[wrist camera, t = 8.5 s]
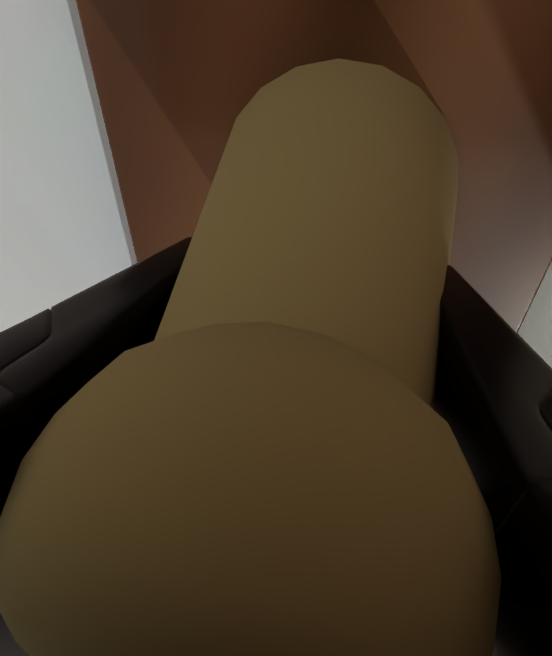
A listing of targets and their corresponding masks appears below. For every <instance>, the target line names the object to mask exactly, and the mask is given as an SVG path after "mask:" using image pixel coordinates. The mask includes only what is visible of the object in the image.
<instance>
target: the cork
mask: <svg viewBox="0 0 552 656" xmlns="http://www.w3.org/2000/svg"><path fill="white" fill-rule="evenodd" d="M458 165H459V156H458V153H457V150H456V147H455V144H454V141H453V138H452V135H451V132H450V129H449V126H448V123H447V120H446V118H445V117H444V116H443V115H442V114H441V112H440V111H439V110H438V109H437V107H436V106H435V105H434V104H433V103H432V101H431V100H430V99H429V98H428V96H427V95H426V94H425V93H424V92H423V90H422V89H421V88H420V87H419V86H417V85H415V84H414V83H412V82H410V81H408V80H407V79H405V78H403V77H401V76H400V75H398V74H396V73H394V72H393V71H391V70H389V69H387V68H386V67H384V66H382V65H376V64H370V63H364V62H358V61H352V60H346V59H340V58H338V59H333V60H328V61H323V62H317V63H312V64H307V65H302V66H297V67H295V68H293V69H291V70H290V71H288V72H286V73H285V74H283V75H281V76H280V77H278V78H276V79H275V80H273V81H271V82H270V83H268V84H266V85H265V86H263V87H261V88H260V89H259V91H258V92H257V93H256V94H255V96H254V97H253V98H252V99H251V100H250V102H249V103H248V104H247V105H246V106H245V108H244V109H243V110H242V111H241V113H240V114H239V115H238V116H237V117H236V120H235V123H234V125H233V128H232V131H231V133H230V136H229V139H228V142H227V144H226V147H225V150H224V152H223V155H222V158H221V161H220V163H219V166H218V169H217V171H216V174H215V177H214V180H213V182H212V185H211V188H210V190H209V193H208V196H207V199H206V201H205V204H204V207H203V209H202V212H201V215H200V218H199V220H198V223H197V226H196V228H195V231H194V234H193V237H192V239H191V242H190V245H189V247H188V250H187V253H186V256H185V258H184V261H183V264H182V266H181V269H180V272H179V275H178V277H177V280H176V283H175V285H174V288H173V291H172V294H171V296H170V299H169V302H168V304H167V307H166V310H165V313H164V315H163V318H162V321H161V323H160V326H159V329H158V332H157V334H156V337H155V340H154V341H152V342H149V343H147V344H144V345H141V346H138V347H135V348H132V349H129V350H126V351H124V352H123V353H122V354H121V355H119V356H118V357H117V358H116V359H115V360H114V361H112V362H111V363H110V364H109V365H108V366H107V367H105V368H104V369H103V370H102V371H101V372H100V373H98V374H97V375H96V376H95V377H94V378H92V379H91V380H90V381H89V382H88V383H87V384H86V385H84V386H83V387H82V388H81V389H80V390H79V391H78V392H77V393H76V394H75V395H74V396H73V397H72V398H71V399H70V400H69V401H68V402H67V403H66V404H65V405H64V406H63V407H62V408H60V409H59V410H58V411H57V412H56V413H55V414H54V416H53V417H52V419H51V420H50V421H49V423H48V424H47V426H46V427H45V428H44V430H43V431H42V433H41V434H40V435H39V437H38V438H37V440H36V441H35V442H34V444H33V445H32V447H31V448H30V449H29V451H28V452H27V454H26V455H25V456H24V458H23V459H22V461H21V463H20V466H19V469H18V471H17V474H16V477H15V479H14V482H13V485H12V487H11V490H10V493H9V495H8V498H7V501H6V503H5V506H4V509H3V511H2V514H1V517H0V613H1V615H2V617H3V619H4V621H5V623H6V625H7V626H8V628H9V630H10V632H11V634H12V636H13V638H14V639H15V641H16V643H17V644H18V645H19V646H20V647H21V648H22V649H23V650H24V651H25V652H26V653H27V654H28V655H29V656H492V654H493V650H494V645H495V635H496V626H497V617H498V607H499V598H500V589H501V579H502V578H501V571H500V565H499V559H498V553H497V547H496V541H495V535H494V529H493V523H492V517H491V514H490V512H489V510H488V507H487V505H486V503H485V500H484V498H483V496H482V494H481V491H480V489H479V487H478V484H477V482H476V480H475V477H474V475H473V473H472V470H471V468H470V466H469V464H468V462H467V460H466V458H465V456H464V454H463V452H462V450H461V448H460V446H459V444H458V442H457V440H456V438H455V436H454V434H453V432H452V430H451V428H450V426H449V424H448V422H447V421H445V420H444V419H443V418H442V417H441V416H440V415H439V414H438V413H436V412H435V411H434V410H433V406H434V397H435V388H436V379H437V365H438V347H439V329H440V299H441V296H442V293H443V289H444V283H445V276H446V270H447V265H450V256H451V247H452V238H453V229H454V221H455V212H456V203H457V193H458Z"/></svg>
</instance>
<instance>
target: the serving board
mask: <svg viewBox="0 0 552 656" xmlns="http://www.w3.org/2000/svg"><path fill="white" fill-rule="evenodd" d="M76 2H77V7H78V11H79V15H80V19H81V24H82V28H83V32H84V36H85V41H86V45H87V49H88V53H89V58H90V62H91V66H92V71H93V75H94V79H95V83H96V88H97V92H98V96H99V100H100V105H101V109H102V113H103V118H104V122H105V126H106V130H107V135H108V139H109V143H110V147H111V152H112V156H113V160H114V164H115V169H116V173H117V177H118V182H119V186H120V190H121V194H122V199H123V203H124V207H125V211H126V216H127V220H128V224H129V229H130V233H131V237H132V241H133V246H134V250H135V254H136V258H137V263H138V262H140V261H142V260H144V259H146V258H148V257H150V256H152V255H154V254H156V253H158V252H160V251H162V250H164V249H166V248H168V247H170V246H172V245H174V244H175V243H177V242H179V241H181V240H183V239H185V238H187V237H193V234H194V231H195V228H196V226H197V223H198V220H199V218H200V215H201V212H202V209H203V207H204V204H205V201H206V199H207V196H208V193H209V190H210V188H211V185H212V182H213V180H214V177H215V174H216V171H217V169H218V166H219V163H220V161H221V158H222V155H223V152H224V150H225V147H226V144H227V142H228V139H229V136H230V133H231V131H232V128H233V125H234V123H235V120H236V117H237V116H238V115H239V114H240V113H241V111H242V110H243V109H244V108H245V106H246V105H247V104H248V103H249V102H250V100H251V99H252V98H253V97H254V96H255V94H256V93H257V92H258V91H259V89H260V88H261V87H263V86H265V85H266V84H268V83H270V82H271V81H273V80H275V79H276V78H278V77H280V76H281V75H283V74H285V73H286V72H288V71H290V70H291V69H293V68H295V67H297V66H302V65H307V64H312V63H317V62H323V61H328V60H333V59H338V58H340V59H346V60H352V61H358V62H364V63H370V64H376V65H382V66H384V67H386V68H387V69H389V70H391V71H393V72H394V73H396V74H398V75H400V76H401V77H403V78H405V79H407V80H408V81H410V82H412V83H414V84H415V85H417V86H419V87H420V88H421V89H422V90H423V92H424V93H425V94H426V95H427V96H428V98H429V99H430V100H431V101H432V103H433V104H434V105H435V106H436V107H437V109H438V110H439V111H440V112H441V114H442V115H443V116H444V117H445V118H446V120H447V123H448V126H449V129H450V132H451V135H452V138H453V141H454V144H455V147H456V150H457V153H458V156H459V165H458V193H457V203H456V212H455V221H454V229H453V238H452V247H451V256H450V266H452V267H453V268H454V269H455V270H456V271H457V272H458V273H459V274H460V275H461V276H462V277H463V278H464V279H465V280H466V281H467V282H468V283H469V284H470V285H471V286H472V287H473V288H474V289H475V290H476V291H477V292H478V293H479V294H480V295H481V296H482V297H483V299H484V300H485V301H486V302H487V303H488V304H489V305H490V306H491V307H492V308H493V309H494V310H495V311H496V312H497V313H498V314H499V315H500V316H501V317H502V318H503V319H504V320H505V321H506V322H507V323H508V324H509V325H510V326H511V327H512V328H513V329H514V330H515V331H516V332H517V333H518V331H519V328H520V326H521V324H522V322H523V320H524V318H525V316H526V314H527V312H528V309H529V307H530V305H531V303H532V301H533V299H534V297H535V295H536V293H537V291H538V288H539V286H540V284H541V282H542V280H543V278H544V276H545V274H546V272H547V269H548V267H549V265H550V263H551V261H552V0H76Z"/></svg>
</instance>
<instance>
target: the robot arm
mask: <svg viewBox="0 0 552 656" xmlns="http://www.w3.org/2000/svg"><path fill="white" fill-rule="evenodd" d="M191 239H192V237H187V238H185V239H183V240H181V241H179V242H177V243H175V244H174V245H172V246H170V247H168V248H166V249H164V250H162V251H160V252H158V253H156V254H154V255H152V256H150V257H148V258H146V259H144V260H142V261H140V262H138V263H136V264H135V265H133V266H131V267H129V268H127V269H125V270H123V271H121V272H119V273H117V274H115V275H113V276H111V277H109V278H107V279H105V280H103V281H101V282H99V283H97V284H96V285H94V286H92V287H90V288H88V289H86V290H84V291H82V292H80V293H78V294H76V295H74V296H72V297H70V298H68V299H66V300H64V301H62V302H60V303H58V304H56V305H55V306H53V307H52V308H51V310H50V309H46V310H45V311H43V312H41V313H39V314H37V315H35V316H33V317H31V318H29V319H27V320H25V321H23V322H21V323H19V324H17V325H15V326H13V327H11V328H9V329H7V330H5V331H2V332H0V517H1V514H2V511H3V509H4V506H5V503H6V501H7V498H8V495H9V493H10V490H11V487H12V485H13V482H14V479H15V477H16V474H17V471H18V469H19V466H20V463H21V461H22V459H23V458H24V456H25V455H26V454H27V452H28V451H29V449H30V448H31V447H32V445H33V444H34V442H35V441H36V440H37V438H38V437H39V435H40V434H41V433H42V431H43V430H44V428H45V427H46V426H47V424H48V423H49V421H50V420H51V419H52V417H53V416H54V414H55V413H56V412H57V411H58V410H59V409H60V408H62V407H63V406H64V405H65V404H66V403H67V402H68V401H69V400H70V399H71V398H72V397H73V396H74V395H75V394H76V393H77V392H78V391H79V390H80V389H81V388H82V387H83V386H84V385H86V384H87V383H88V382H89V381H90V380H91V379H92V378H94V377H95V376H96V375H97V374H98V373H100V372H101V371H102V370H103V369H104V368H105V367H107V366H108V365H109V364H110V363H111V362H112V361H114V360H115V359H116V358H117V357H118V356H119V355H121V354H122V353H123V352H124V351H126V350H129V349H132V348H135V347H138V346H141V345H144V344H147V343H149V342H152V341H154V340H155V337H156V334H157V332H158V329H159V326H160V323H161V321H162V318H163V315H164V313H165V310H166V307H167V304H168V302H169V299H170V296H171V294H172V291H173V288H174V285H175V283H176V280H177V277H178V275H179V272H180V269H181V266H182V264H183V261H184V258H185V256H186V253H187V250H188V247H189V245H190V242H191ZM433 410H434V411H435V412H436V413H438V414H439V415H440V416H441V417H442V418H443V419H444V420H445V421H447V422H448V424H449V426H450V428H451V430H452V432H453V434H454V436H455V438H456V440H457V442H458V444H459V446H460V448H461V450H462V452H463V454H464V456H465V458H466V460H467V462H468V464H469V466H470V468H471V470H472V473H473V475H474V477H475V480H476V482H477V484H478V487H479V489H480V491H481V494H482V496H483V498H484V500H485V503H486V505H487V507H488V510H489V512H490V514H491V517H492V523H493V529H494V535H495V541H496V547H497V553H498V559H499V565H500V571H501V578H502V579H501V589H500V598H499V607H498V617H497V626H496V635H495V645H494V650H493V654H492V656H552V368H551V367H550V366H549V365H548V364H547V363H546V362H545V361H544V360H543V359H542V358H541V357H540V356H539V355H538V354H537V353H536V352H535V351H534V350H533V349H532V348H531V347H530V346H529V345H528V344H527V343H526V342H525V341H524V340H523V339H522V338H521V336H520V335H519V334H518V333H517V332H516V331H515V330H514V329H513V328H512V327H511V326H510V325H509V324H508V323H507V322H506V321H505V320H504V319H503V318H502V317H501V316H500V315H499V314H498V313H497V312H496V311H495V310H494V309H493V308H492V307H491V306H490V305H489V304H488V303H487V302H486V301H485V300H484V299H483V297H482V296H481V295H480V294H479V293H478V292H477V291H476V290H475V289H474V288H473V287H472V286H471V285H470V284H469V283H468V282H467V281H466V280H465V279H464V278H463V277H462V276H461V275H460V274H459V273H458V272H457V271H456V270H455V269H454V268H453V267H452V266H450V265H447V270H446V276H445V283H444V289H443V293H442V296H441V299H440V329H439V347H438V365H437V379H436V388H435V397H434V406H433ZM0 656H29V655H28V654H27V653H26V652H25V651H24V650H23V649H22V648H21V647H20V646H19V645H18V644H17V643H16V641H15V639H14V638H13V636H12V634H11V632H10V630H9V628H8V626H7V625H6V623H5V621H4V619H3V617H2V615H1V613H0Z"/></svg>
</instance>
